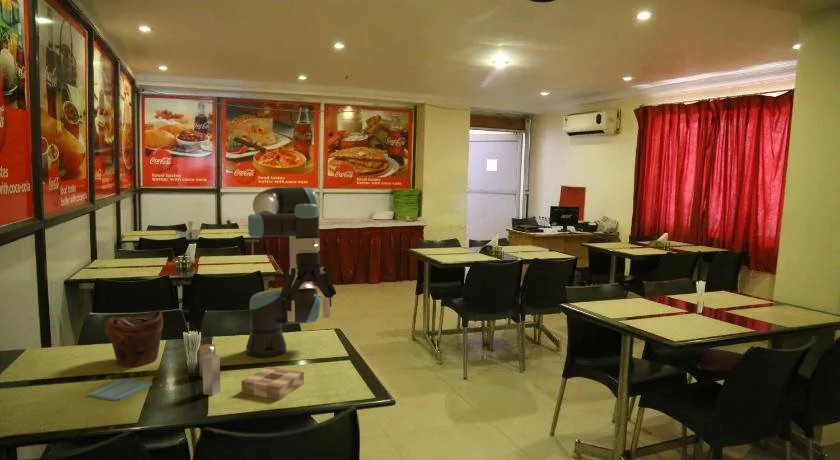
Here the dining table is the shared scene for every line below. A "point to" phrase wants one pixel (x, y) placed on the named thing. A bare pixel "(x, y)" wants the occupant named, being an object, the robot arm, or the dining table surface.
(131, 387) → the blue flat panel
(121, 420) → the dining table surface
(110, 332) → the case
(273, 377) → the socket block
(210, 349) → the round bit
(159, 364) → the dining table surface
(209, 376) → the square bit
